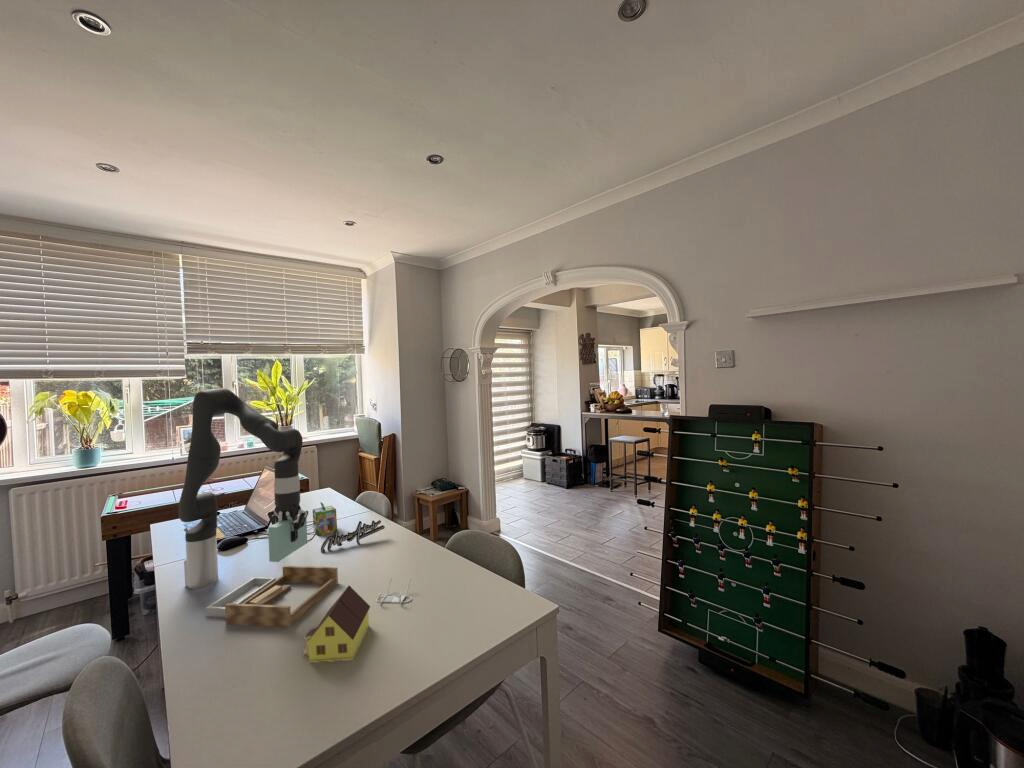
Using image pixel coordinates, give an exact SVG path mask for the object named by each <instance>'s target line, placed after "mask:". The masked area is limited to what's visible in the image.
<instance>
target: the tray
mask: <svg viewBox="0 0 1024 768" xmlns="http://www.w3.org/2000/svg"><path fill="white" fill-rule="evenodd" d="M276 579H277V578H276V577H263V576H262V577H259V576H258V577H257V576H254V577H252V578H251V579H249V580H247V581H246V582H244V583H243V584H241V585H240V586H238V587H236V588H235V589H233V590H232V591H230V592H229V593H227V594H225V595H224V596H222V597H221V598H219V599H218V600H216V601H214V602H212V603H211V604H210V605H208V606H207V607H205V615H206V617H213V618H226V616H225V605H226V604H227V603H232V604H242V603H243V602H245V601H246V600H248V599H249V598H250V597H252V596H253V595H255V594H256V593H258V592H259V591H261V590H262V589H263V588H265V587H266V586H268V585H269V584H271V583H272V582H273V581H275V580H276Z"/></svg>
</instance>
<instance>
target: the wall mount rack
mask: <svg viewBox="0 0 1024 768" xmlns="http://www.w3.org/2000/svg"><path fill="white" fill-rule="evenodd" d="M411 580H412V578H411V577H409V579H408V582H407V588H406V591H405V594H404V595H402V594H403V592H400V593H399V595H388V593H389V589H390V586H391V583H392V577H390V578H389V580H388V586H387V590H386V592H385V593H386V594H385V595H384V596H383V595H382V594H383V592H379V594H378V597H377V598H376V599H375V602H376V603H378V604H379V605H380V604H400V605H401V604H408V603H410V602H411V601H412V600H413V597H412V596H407V595H408V593H409V589H410V588H409V587H410V582H411ZM381 598H382V599H381ZM405 598H407V599H409V600H405ZM404 600H405V601H404Z"/></svg>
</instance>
